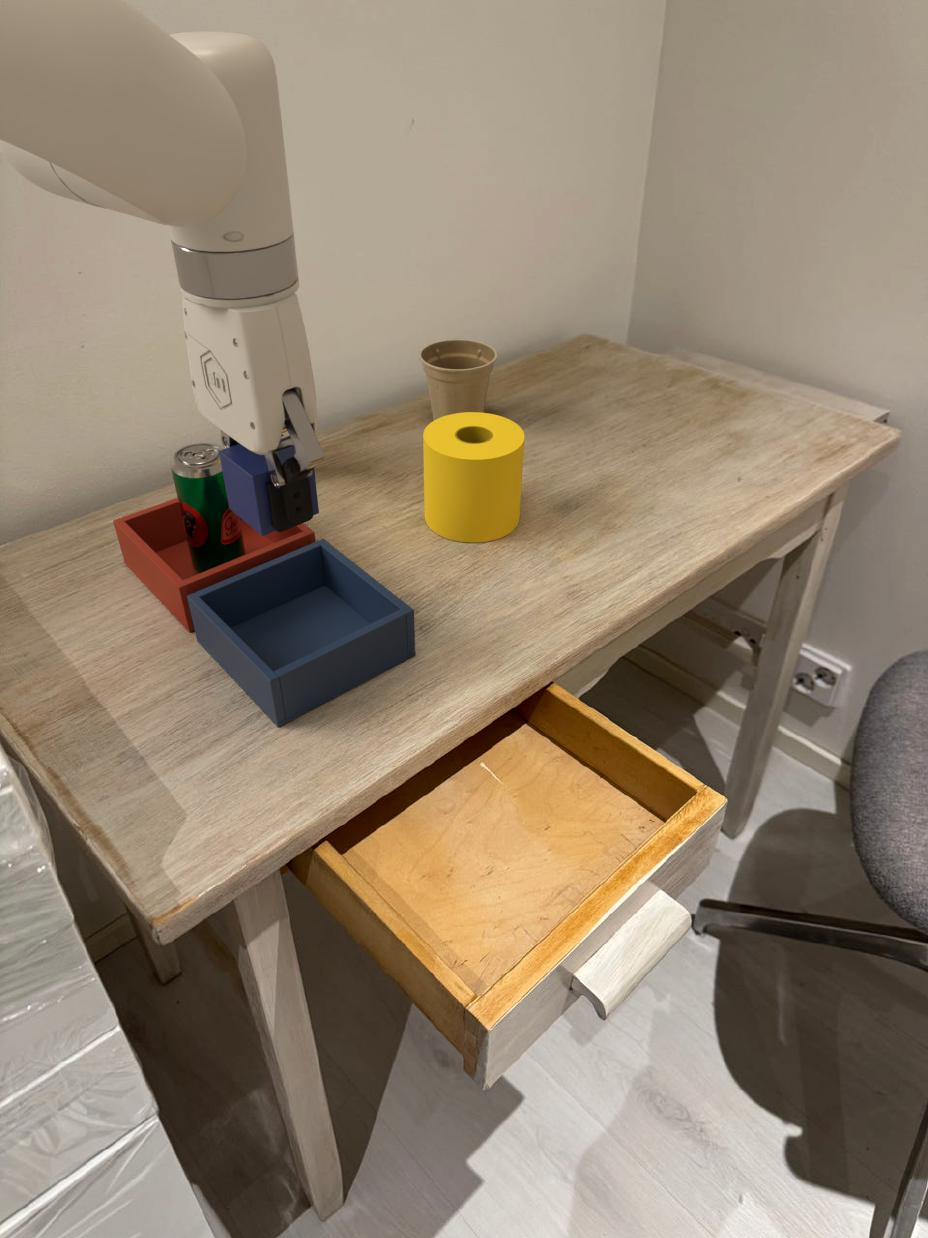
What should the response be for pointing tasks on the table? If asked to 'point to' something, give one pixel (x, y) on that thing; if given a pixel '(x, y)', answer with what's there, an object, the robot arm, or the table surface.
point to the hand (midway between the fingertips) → (273, 506)
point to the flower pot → (457, 375)
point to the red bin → (165, 558)
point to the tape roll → (472, 476)
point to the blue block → (253, 485)
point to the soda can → (206, 507)
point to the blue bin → (302, 629)
